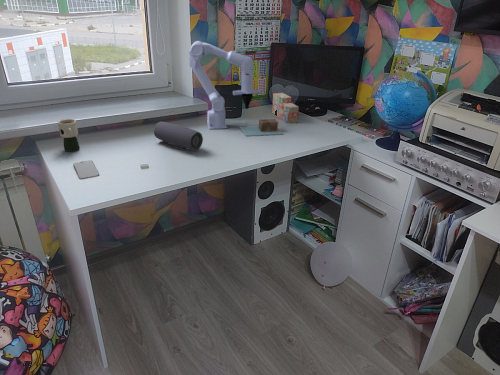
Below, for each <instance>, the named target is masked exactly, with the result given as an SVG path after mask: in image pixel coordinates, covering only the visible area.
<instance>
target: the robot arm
mask: <svg viewBox="0 0 500 375" xmlns="http://www.w3.org/2000/svg"><path fill="white" fill-rule="evenodd" d="M188 54H189V56H188V57H189V59H188V61H189V63H188V64H189V67H190V68H191V70H192V72H193V73H194V75H195V76H196V78H197V79H198V82H199V83H200V85H201V86H202V89H203V90H204V91H205V93H206V94H207V96H208V98H209V102H210V103H211V107H212V108H211V109H210V110H207V112H206V114H207V115H206V116H207V119H206V120H207V123H206V124H207V127H208V129H209V130H216V129H228V127H227V125H226V108H225V102H226V101H225V98H224V97H223V96H222V95H221V94H220V93H219V91H217V90H216V88H215V86H214V85H213V83H212V81H211V80H210V78H209V76H208V75H207V73H206V71H205V70H204V68H203V67H202V64H201V58H202V56H203V54H204V55H208V54H213V55H215V56H217V57H221V58H223V59H225V60H226V61H227V62H228V63H229V64H231V65H234V66H237V67H241V68H242V69H241V82H240V83H241V85H240V86H241V89H238V90H232V95H233V96H241V98H242V101H243V103H244V108H245V109H246V110H248V109H249V108H250V107H249V106H250V104H251V101H252V99H253V98H254V96H253V95H261V94H262V90H261V89H253V87H254V86H253V84H254V83H253V80H254V77H253V75H254V72H253V70H254V69H253V68H254V65H255V64H254V61H253V58H252V57H250V56H248V55H246V54H241V53H238V52H237V50H230V51H226V50H224V49H222V48H220V47H217V46H215V45H213V44H210V43H208V42H206V41H205V42H203V41H201V40H195V41H194V42H193V43H192V44H191V45H190V48H189V52H188Z"/></svg>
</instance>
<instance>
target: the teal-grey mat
mask: <svg viewBox="0 0 500 375" xmlns="http://www.w3.org/2000/svg"><path fill="white" fill-rule="evenodd" d="M239 129H240V130H241V131H242V133H243V134H244V136H245V137H259V136H260V137H261V136H262V137H263V136H264V137H265V136H283V135H284V133H283V132H282V131H281V130H280V128H278V131H270V132H261V131H260V130H259V125H256V126H255V125H253V126H251V125H250V126H239Z"/></svg>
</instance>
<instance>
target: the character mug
mask: <svg viewBox="0 0 500 375" xmlns="http://www.w3.org/2000/svg"><path fill="white" fill-rule="evenodd" d="M57 125H58V131H59V135H60V137H61V138H63V149H64V151H65V152H74V151H76V150H80V148H81V147H80V144H79V139H78V138H77V136H79V130H78V125H77V120H76V119H73V118H65V119H60V120H59V121H57Z"/></svg>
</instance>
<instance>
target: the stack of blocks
mask: <svg viewBox="0 0 500 375" xmlns="http://www.w3.org/2000/svg"><path fill="white" fill-rule="evenodd" d="M292 100H293V98H292V96H290V95H288V94H286V93H284V92H274V93H273V94H272V109H271V110H272V111H271V112H272V114H273V113H274V114H275V111H276V110H277V116H278V117H277V116H276V117H277V118H279V119H280V118H281V120H282V121H283V122H285V123H286V124H294V123H296V124H297V122H298V115H299V114H298V113H299V106H298V105H296V104H295V103H293V102H292ZM274 114H273V115H274Z"/></svg>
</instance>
